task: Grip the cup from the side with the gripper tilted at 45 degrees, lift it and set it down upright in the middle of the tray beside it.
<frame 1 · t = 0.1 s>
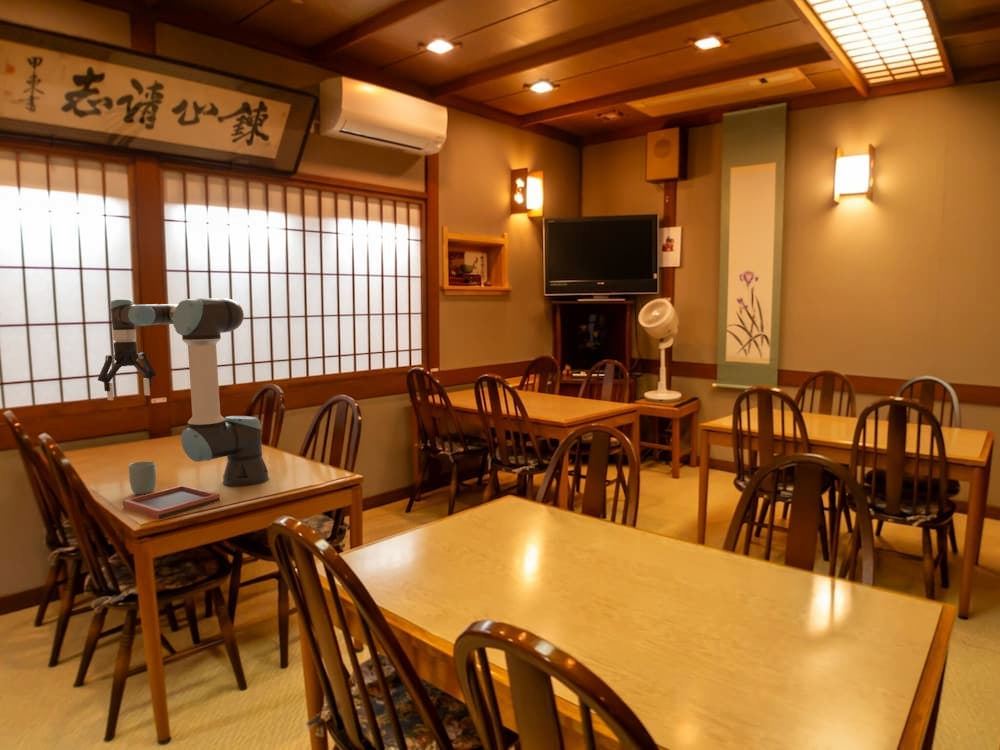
hand: (129, 397, 249), 28 cm above the table, tool pointing down, fingers open, 13 cm apart
cup: (144, 493, 223), on the table
tray: (172, 504, 210), on the table
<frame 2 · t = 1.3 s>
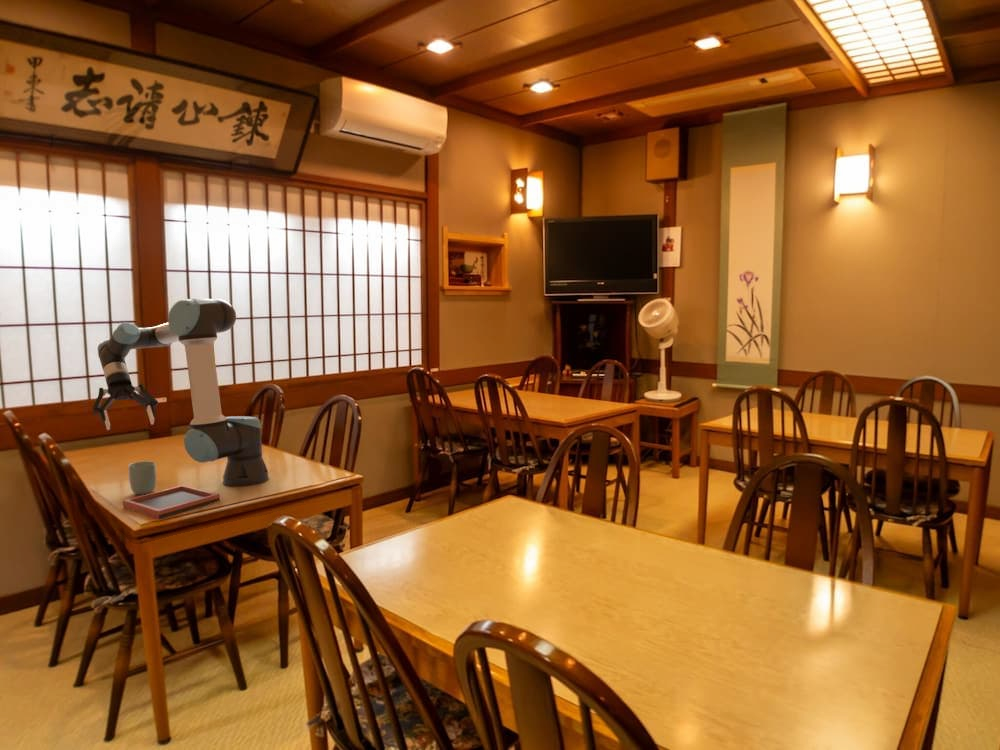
hand: (131, 425, 228), 22 cm above the table, tool tilted 45°, fingers open, 13 cm apart
nothing on the table moved.
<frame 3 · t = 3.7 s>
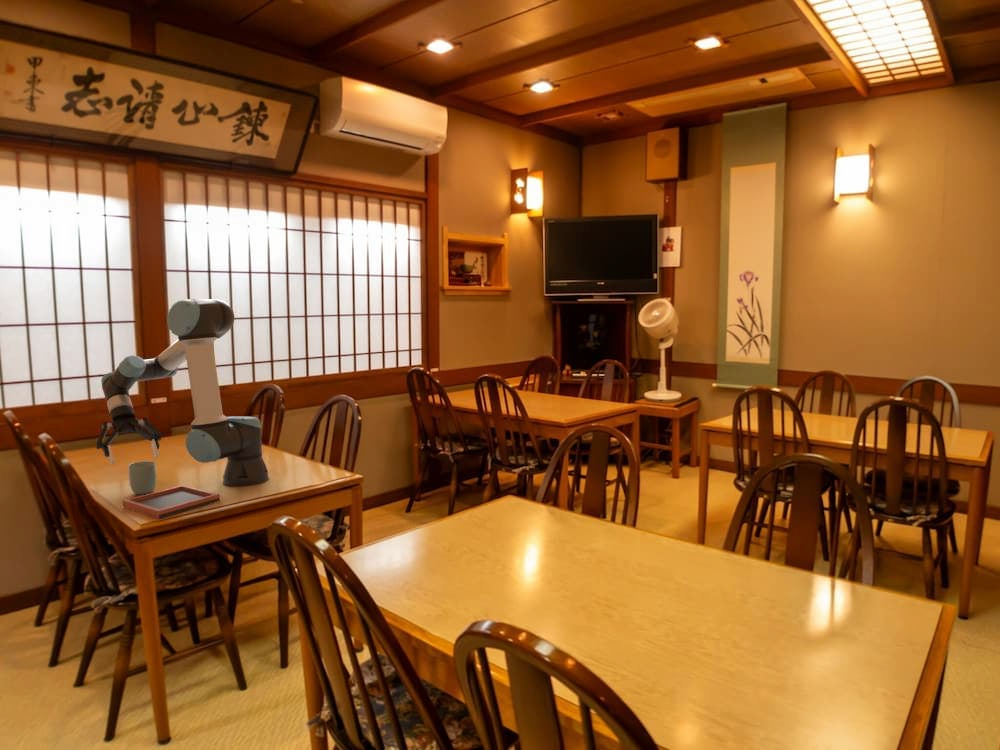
hand: (135, 459, 225), 10 cm above the table, tool tilted 45°, fingers open, 13 cm apart
nothing on the table moved.
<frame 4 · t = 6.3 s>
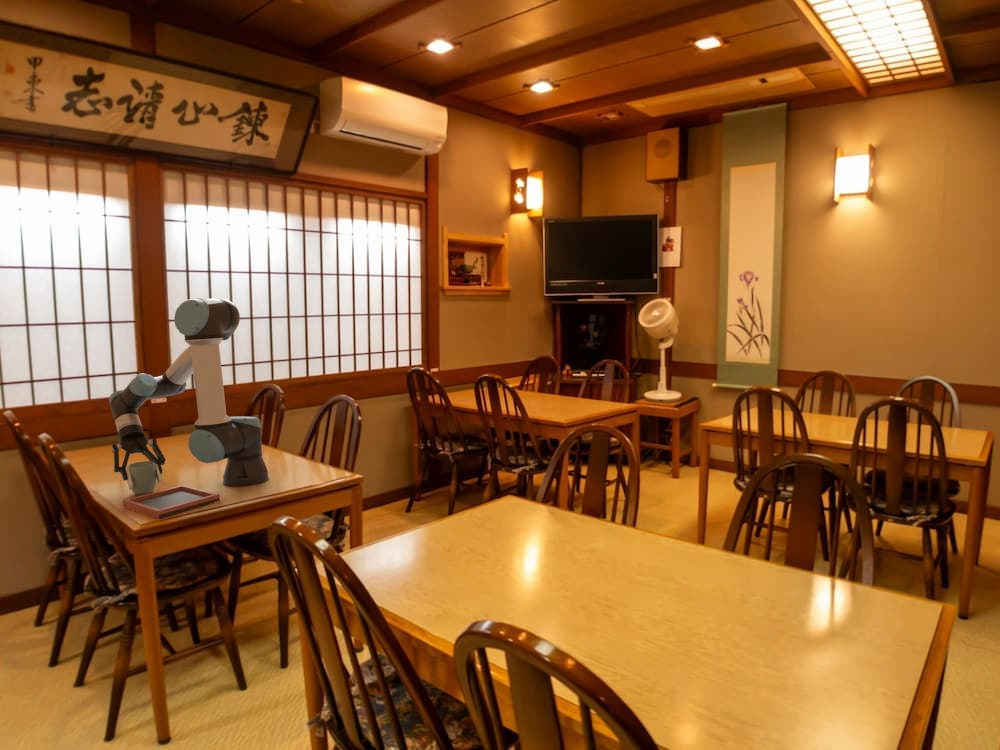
hand: (146, 484, 220), 4 cm above the table, tool tilted 45°, fingers closed on cup, 8 cm apart
cup: (144, 493, 223), on the table, touching gripper
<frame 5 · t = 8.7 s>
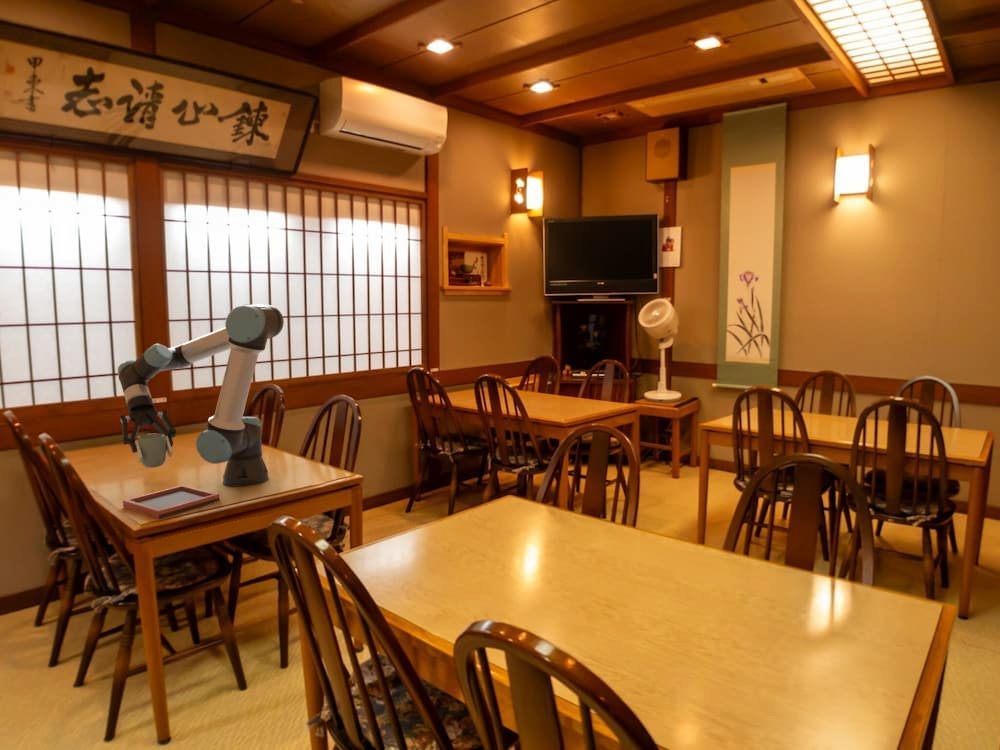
hand: (156, 457, 210), 15 cm above the table, tool tilted 45°, fingers closed on cup, 8 cm apart
cup: (154, 466, 213), point 11 cm above the table, touching gripper
when the fingers open (6 cm above the table, at t = 11.2 s): cup drops 1 cm, resting on tray.
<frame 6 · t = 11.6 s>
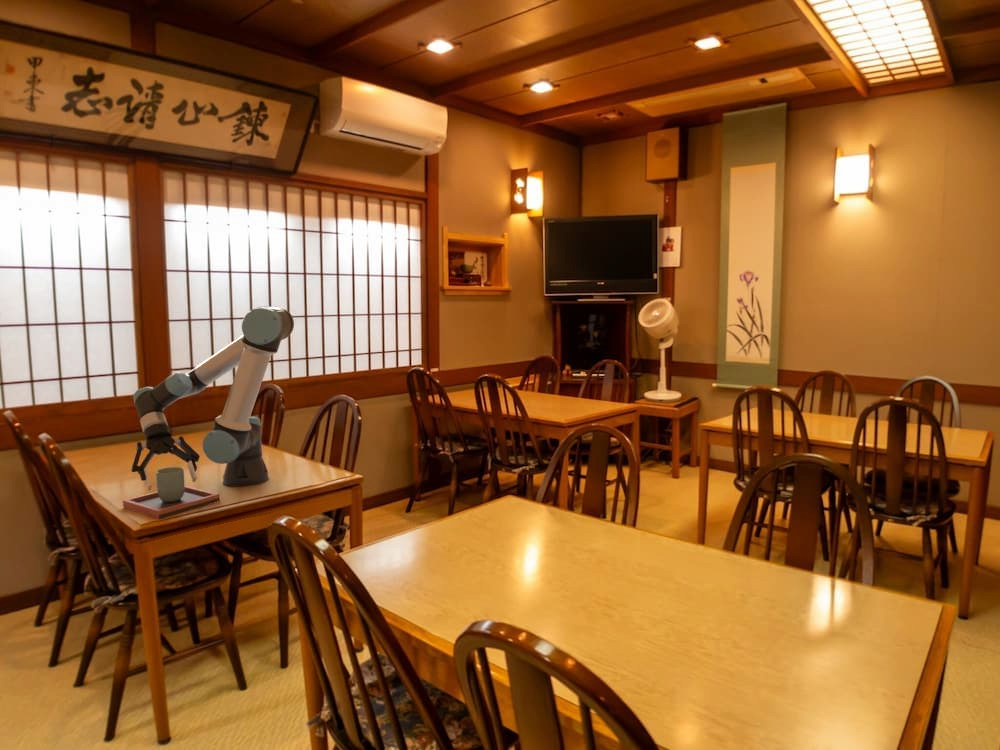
hand: (172, 483, 207), 7 cm above the table, tool tilted 45°, fingers open, 12 cm apart
cup: (171, 501, 210), point 1 cm above the table, touching tray
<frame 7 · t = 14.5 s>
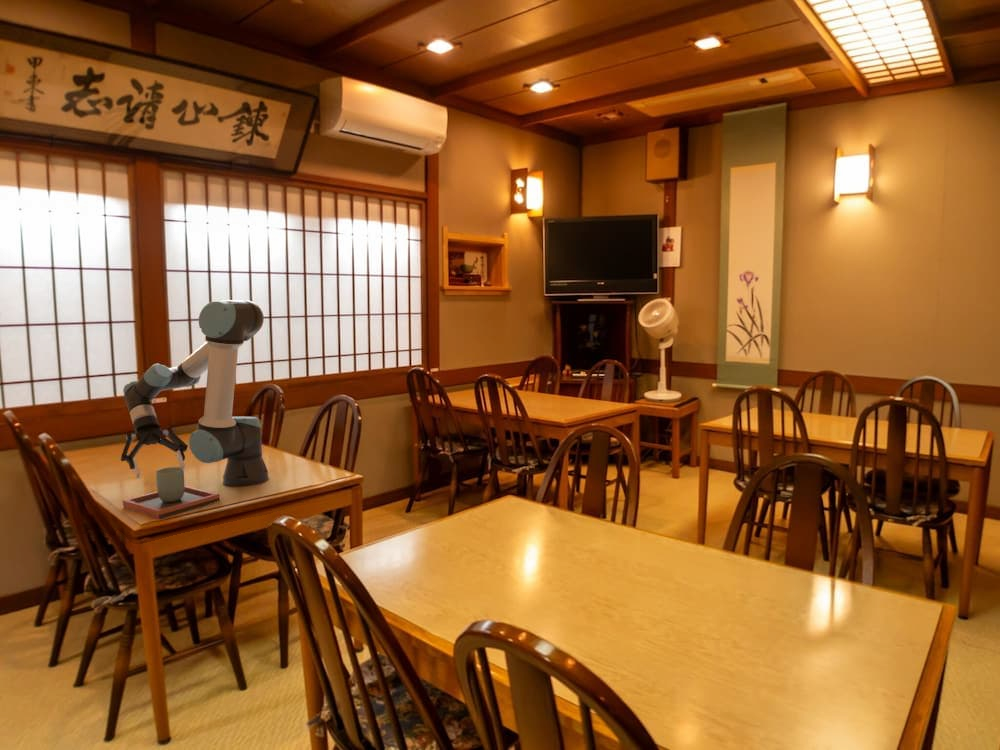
hand: (161, 472, 218), 8 cm above the table, tool tilted 45°, fingers open, 13 cm apart
nothing on the table moved.
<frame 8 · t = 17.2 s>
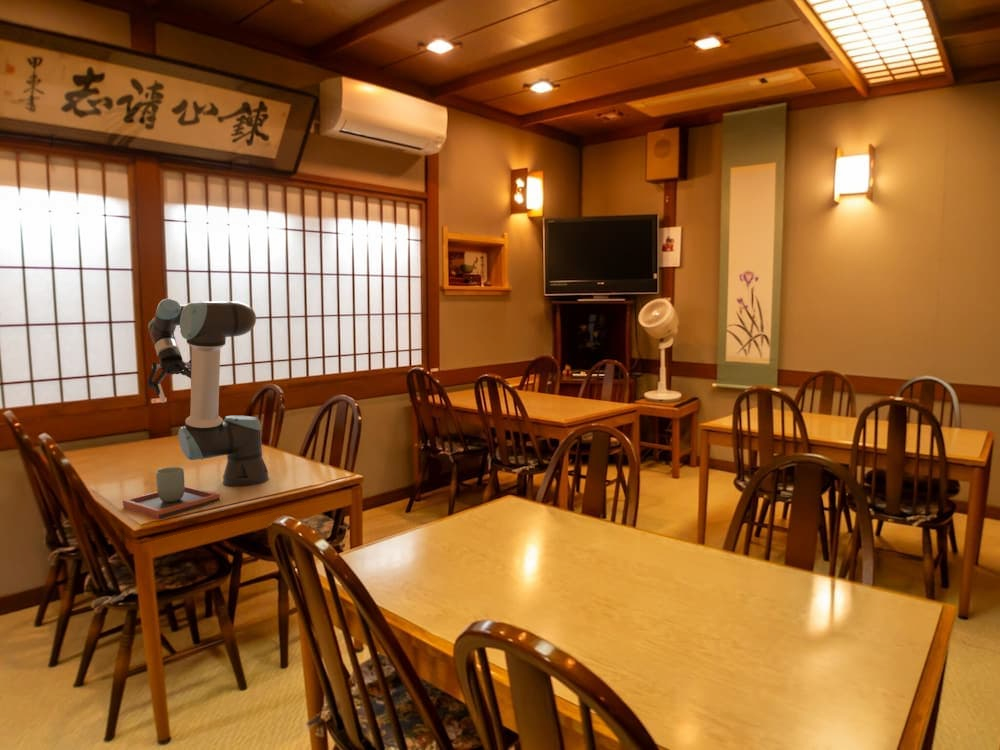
hand: (184, 398, 234), 30 cm above the table, tool tilted 45°, fingers open, 13 cm apart
nothing on the table moved.
at the end: cup inside the target area on the tray (0.0 cm from its centre), point 1.0 cm above the tray's base; cup tilted 0°; the gripper is holding nothing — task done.
